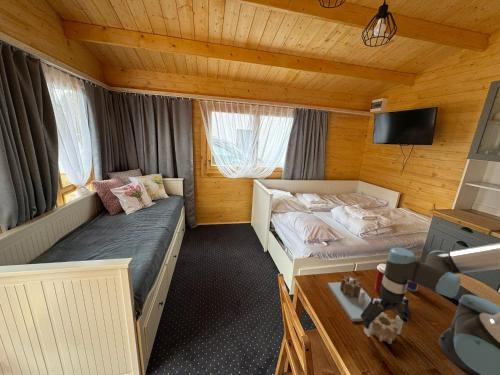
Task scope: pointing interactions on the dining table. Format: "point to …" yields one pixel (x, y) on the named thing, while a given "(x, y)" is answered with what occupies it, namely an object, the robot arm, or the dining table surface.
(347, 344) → the dining table surface
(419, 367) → the dining table surface
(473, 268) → the robot arm
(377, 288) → the paper cup
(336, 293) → the gear board
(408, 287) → the energy drink
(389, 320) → the beech gear
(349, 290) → the walnut gear
